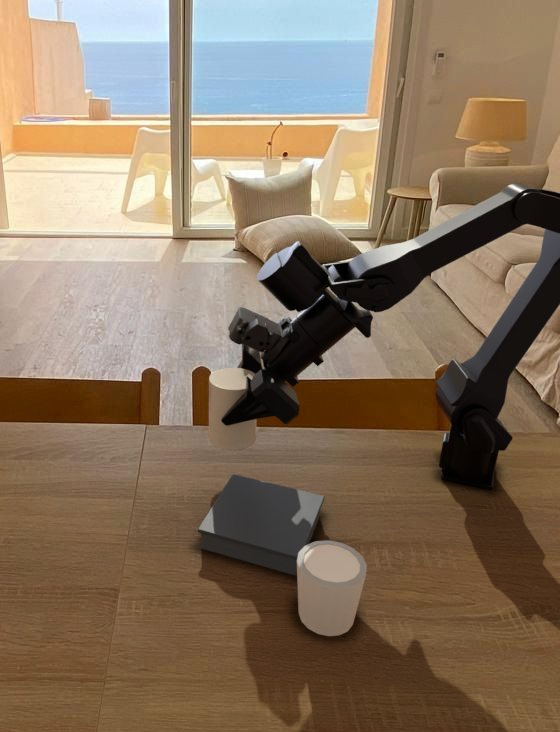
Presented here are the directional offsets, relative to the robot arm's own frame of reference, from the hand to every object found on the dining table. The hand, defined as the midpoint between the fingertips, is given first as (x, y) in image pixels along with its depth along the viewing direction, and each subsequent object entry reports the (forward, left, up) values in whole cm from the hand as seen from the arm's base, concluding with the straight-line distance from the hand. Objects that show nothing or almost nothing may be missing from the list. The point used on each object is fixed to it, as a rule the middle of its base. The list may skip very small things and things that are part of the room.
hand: (222, 409), depth 92 cm
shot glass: (-19, +20, -10) cm, 30 cm away
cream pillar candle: (-1, -1, -4) cm, 5 cm away
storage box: (-9, +10, -9) cm, 17 cm away
